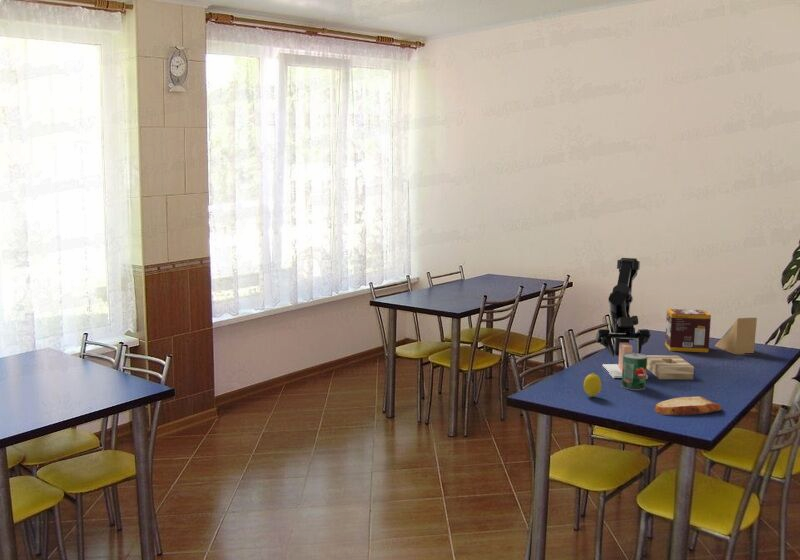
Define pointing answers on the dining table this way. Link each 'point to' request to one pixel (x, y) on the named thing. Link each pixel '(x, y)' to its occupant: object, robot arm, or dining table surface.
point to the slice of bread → (686, 406)
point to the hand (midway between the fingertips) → (626, 356)
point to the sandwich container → (739, 337)
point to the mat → (614, 370)
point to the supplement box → (687, 330)
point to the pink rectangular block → (622, 350)
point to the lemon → (592, 384)
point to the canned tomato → (634, 371)
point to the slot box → (669, 367)
